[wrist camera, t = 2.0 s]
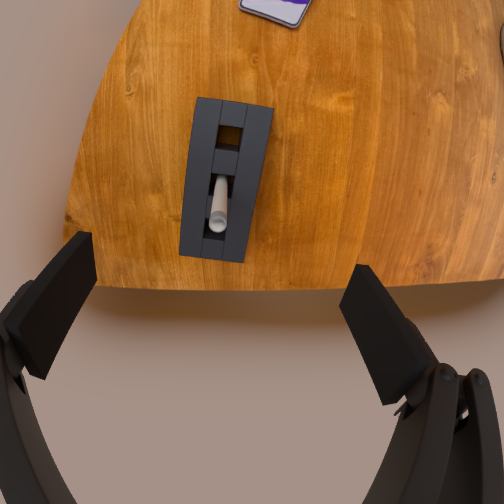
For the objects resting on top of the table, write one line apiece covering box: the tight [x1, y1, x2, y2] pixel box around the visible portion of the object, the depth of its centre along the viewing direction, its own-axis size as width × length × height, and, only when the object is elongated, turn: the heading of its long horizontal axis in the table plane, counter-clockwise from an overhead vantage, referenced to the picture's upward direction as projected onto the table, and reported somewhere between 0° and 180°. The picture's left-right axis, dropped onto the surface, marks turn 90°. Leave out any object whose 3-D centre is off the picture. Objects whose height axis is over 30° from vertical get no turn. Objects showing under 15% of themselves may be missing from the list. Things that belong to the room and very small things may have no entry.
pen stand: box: [179, 97, 274, 263], centre depth 30 cm, size 7×17×5 cm, turn 170°
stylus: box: [209, 174, 228, 232], centre depth 26 cm, size 1×1×15 cm
